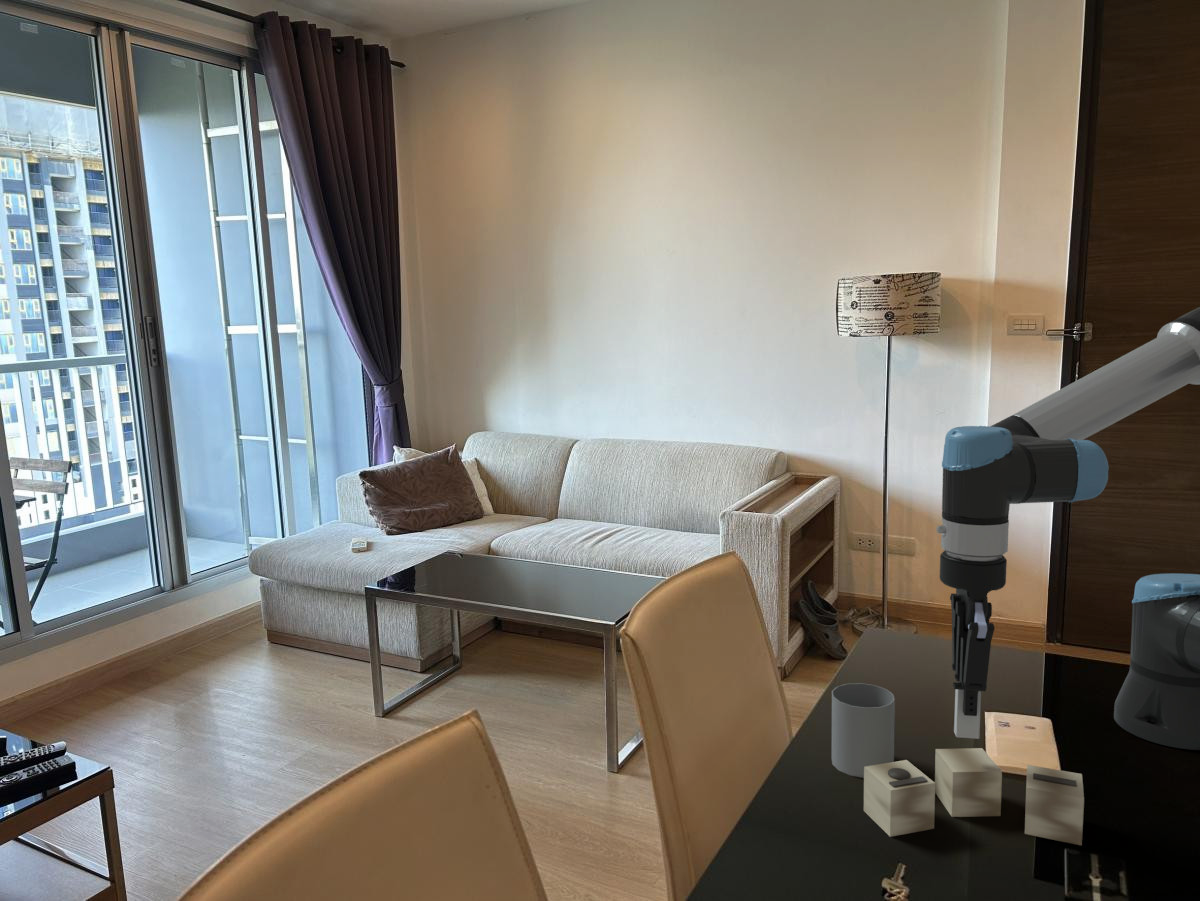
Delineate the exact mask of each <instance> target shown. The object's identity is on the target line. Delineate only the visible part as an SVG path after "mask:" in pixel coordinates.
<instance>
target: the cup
mask: <svg viewBox="0 0 1200 901" xmlns="http://www.w3.org/2000/svg"><path fill="white" fill-rule="evenodd" d="M895 704H896V699H895V695H894V694H893V693H892V692H891V691H890V690H888V689H887V688H884V687H882V686H878V685H876V684H871V683H870V684H868V683H861V682H857V683H854V682H853V683H845V684H844V683H843V684H841V685H838V686H836V687H834V688H833V690H831V764H832V766H834V767H835V769H837V770H838V771H839V772H842V773H843V774H846V775H848V776H851V777H856V778H857V777H858V778H862V779H864V767H866V766H872V765H878V764H884V763H890V762H895V723H896V722H895V719H896V717H895V715H896V707H895V706H896V705H895Z"/></svg>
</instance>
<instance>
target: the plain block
mask: <svg viewBox="0 0 1200 901" xmlns="http://www.w3.org/2000/svg"><path fill="white" fill-rule="evenodd" d="M934 759H935V761H934V762H935V763H934V766H935V767H934V771H935V772H934V782H935V795H937V797H938V799H939V800H940V801H941V804H942V805H943V806H944V808H945V809H946V811H947V812H948V813H949V815H950V816H951V817H952V818H956V817H957V818H963V817H964V818H966V817H972V818H973V817H1001V810H1002V787H1003V786H1002V784H1003V783H1002V780H1003V770H1002V769H1001V768H1000V767H999V765H998V764H997V763H995V761H994V760H993V759H992V757H990V756H989V754H988V753H987V752H986V751H985V750H984V749H983V748H982V747H978V748H977V747H974V748H973V747H972V748H967V747H966V748H935V758H934Z"/></svg>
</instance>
